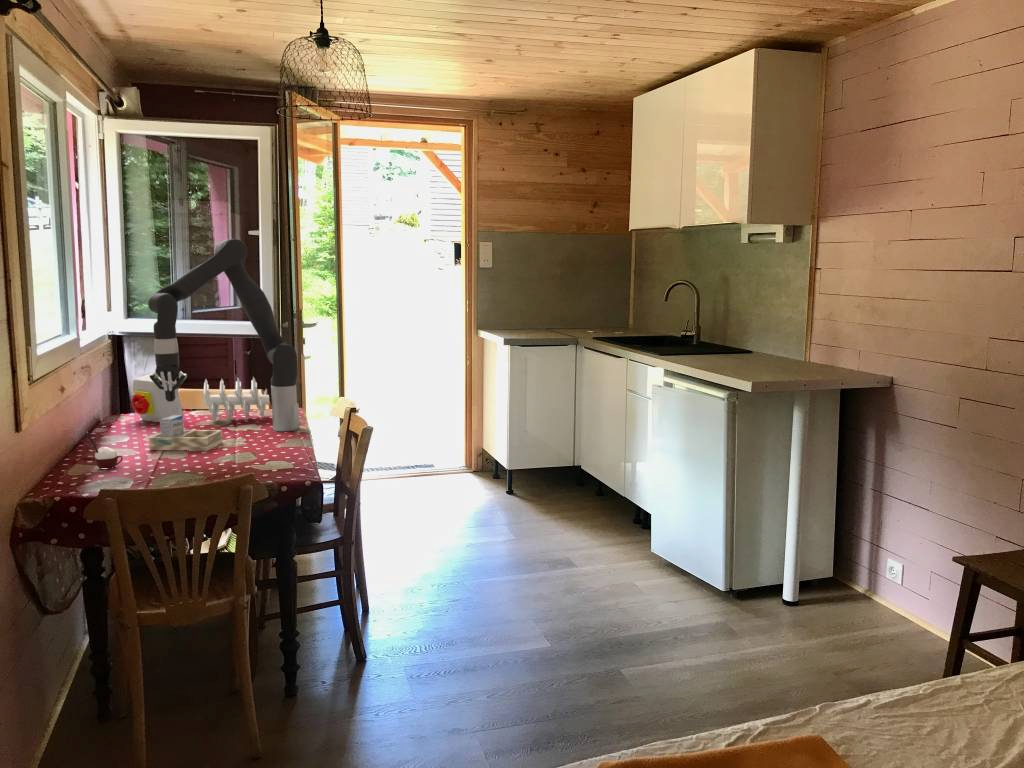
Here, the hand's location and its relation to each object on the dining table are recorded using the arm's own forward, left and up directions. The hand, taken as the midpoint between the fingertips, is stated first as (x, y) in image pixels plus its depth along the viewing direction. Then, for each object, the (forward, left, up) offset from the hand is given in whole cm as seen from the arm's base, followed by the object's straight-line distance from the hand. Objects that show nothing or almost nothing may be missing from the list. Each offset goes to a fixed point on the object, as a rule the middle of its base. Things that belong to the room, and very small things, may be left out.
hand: (170, 401), depth 278 cm
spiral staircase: (-5, -46, -16) cm, 49 cm away
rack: (-5, 0, -16) cm, 17 cm away
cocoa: (+7, +30, -16) cm, 35 cm away
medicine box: (0, 0, -15) cm, 15 cm away
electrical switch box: (+28, -43, -16) cm, 54 cm away
